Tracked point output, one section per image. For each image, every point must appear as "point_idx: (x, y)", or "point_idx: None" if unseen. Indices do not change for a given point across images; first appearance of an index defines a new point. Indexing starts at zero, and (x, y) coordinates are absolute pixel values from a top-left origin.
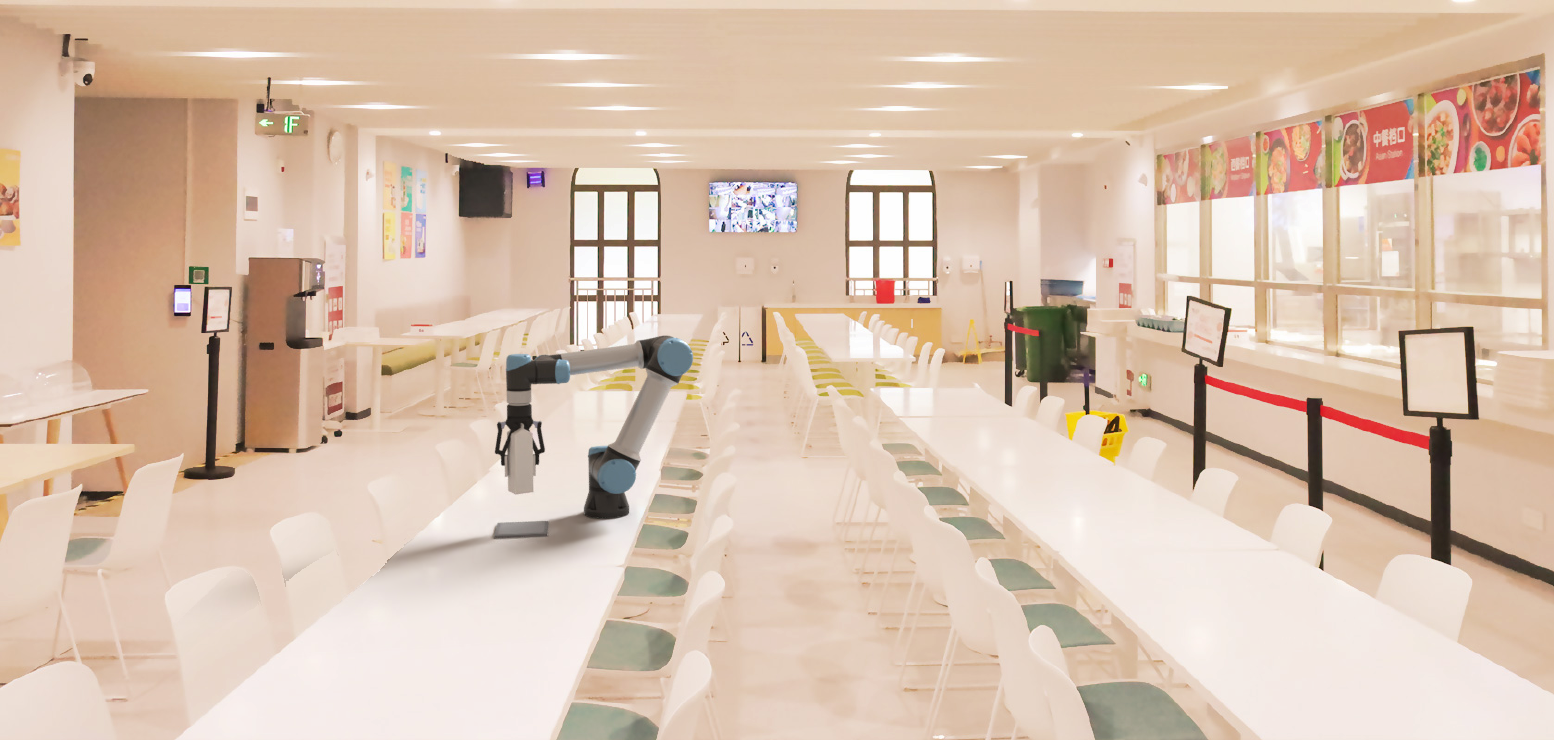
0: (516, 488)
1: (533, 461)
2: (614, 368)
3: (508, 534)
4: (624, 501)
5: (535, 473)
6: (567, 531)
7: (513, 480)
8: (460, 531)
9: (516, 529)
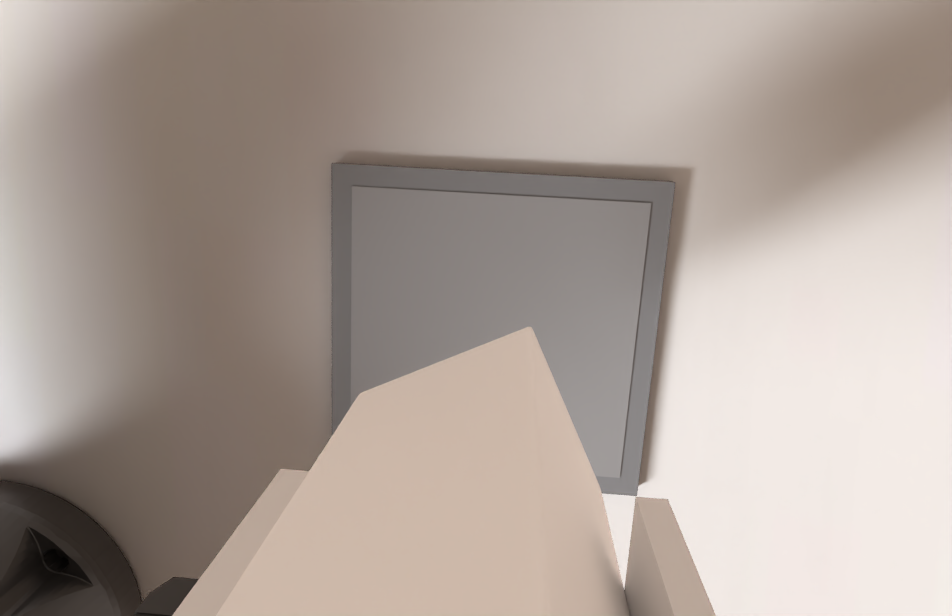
0: (523, 345)
1: (218, 594)
2: None
3: (580, 198)
4: None
5: (269, 485)
6: (216, 255)
7: (557, 423)
8: (867, 403)
9: (526, 305)
